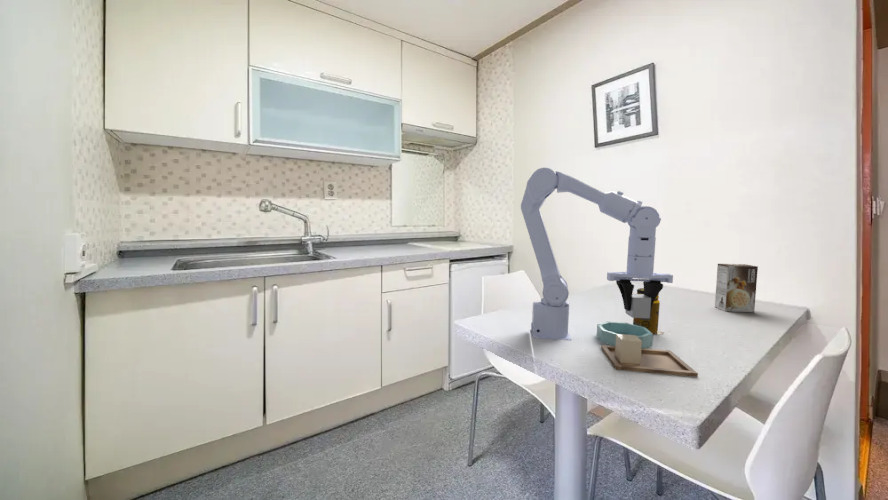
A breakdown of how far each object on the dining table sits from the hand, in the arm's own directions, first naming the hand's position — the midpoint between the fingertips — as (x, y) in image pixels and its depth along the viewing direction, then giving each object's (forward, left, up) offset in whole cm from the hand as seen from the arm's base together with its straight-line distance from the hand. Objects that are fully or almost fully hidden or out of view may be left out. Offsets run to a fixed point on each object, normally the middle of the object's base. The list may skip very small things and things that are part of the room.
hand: (637, 310), depth 85 cm
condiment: (+6, +11, -9) cm, 16 cm away
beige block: (-5, -12, -8) cm, 15 cm away
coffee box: (+47, +45, -9) cm, 66 cm away
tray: (-2, -12, -9) cm, 15 cm away
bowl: (-2, +1, -9) cm, 9 cm away
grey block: (0, 0, -1) cm, 1 cm away
